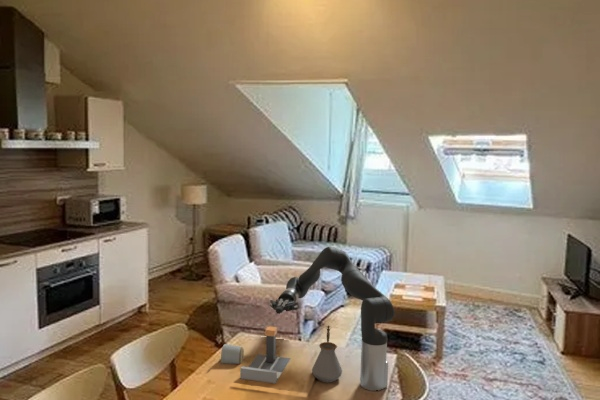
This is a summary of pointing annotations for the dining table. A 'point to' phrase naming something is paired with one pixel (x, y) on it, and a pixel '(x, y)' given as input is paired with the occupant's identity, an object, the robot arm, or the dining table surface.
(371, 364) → the robot arm
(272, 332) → the fader
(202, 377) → the dining table surface
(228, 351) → the ceramic mug
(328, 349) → the coffee pot
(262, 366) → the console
